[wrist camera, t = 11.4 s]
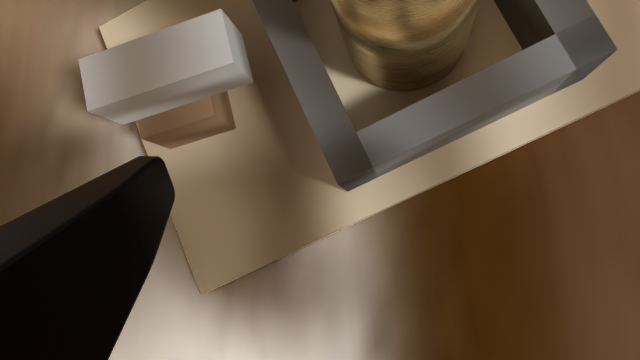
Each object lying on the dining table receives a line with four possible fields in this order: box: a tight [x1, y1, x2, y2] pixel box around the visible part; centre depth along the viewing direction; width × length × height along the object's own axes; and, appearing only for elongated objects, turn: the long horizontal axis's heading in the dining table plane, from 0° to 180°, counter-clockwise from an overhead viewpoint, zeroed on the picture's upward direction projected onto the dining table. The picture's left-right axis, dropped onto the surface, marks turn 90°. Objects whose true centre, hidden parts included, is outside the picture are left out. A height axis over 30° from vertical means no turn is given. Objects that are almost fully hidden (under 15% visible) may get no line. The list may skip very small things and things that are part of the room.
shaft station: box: [78, 0, 640, 294], centre depth 15 cm, size 22×12×5 cm, turn 114°
